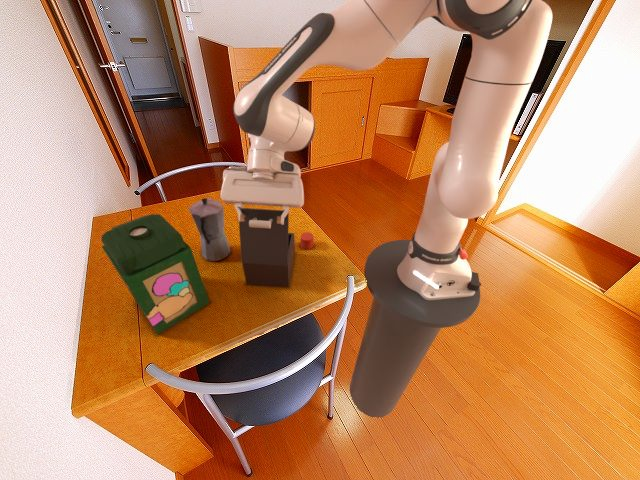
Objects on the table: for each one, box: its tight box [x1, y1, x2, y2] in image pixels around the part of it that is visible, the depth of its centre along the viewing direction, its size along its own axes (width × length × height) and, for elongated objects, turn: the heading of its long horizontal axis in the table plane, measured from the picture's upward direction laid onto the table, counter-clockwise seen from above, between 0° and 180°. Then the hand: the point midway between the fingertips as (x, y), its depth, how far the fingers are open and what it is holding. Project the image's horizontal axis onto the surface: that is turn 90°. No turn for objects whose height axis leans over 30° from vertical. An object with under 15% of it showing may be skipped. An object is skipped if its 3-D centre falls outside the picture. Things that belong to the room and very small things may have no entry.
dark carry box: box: [241, 232, 296, 288], centre depth 84 cm, size 15×13×9 cm
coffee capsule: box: [300, 231, 315, 250], centre depth 94 cm, size 4×4×4 cm
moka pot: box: [188, 197, 231, 262], centre depth 84 cm, size 10×15×20 cm, turn 14°
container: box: [101, 213, 211, 336], centre depth 67 cm, size 15×18×25 cm
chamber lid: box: [238, 207, 290, 266], centre depth 70 cm, size 15×13×5 cm
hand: (261, 223), depth 67 cm, fingers open, 8 cm apart
